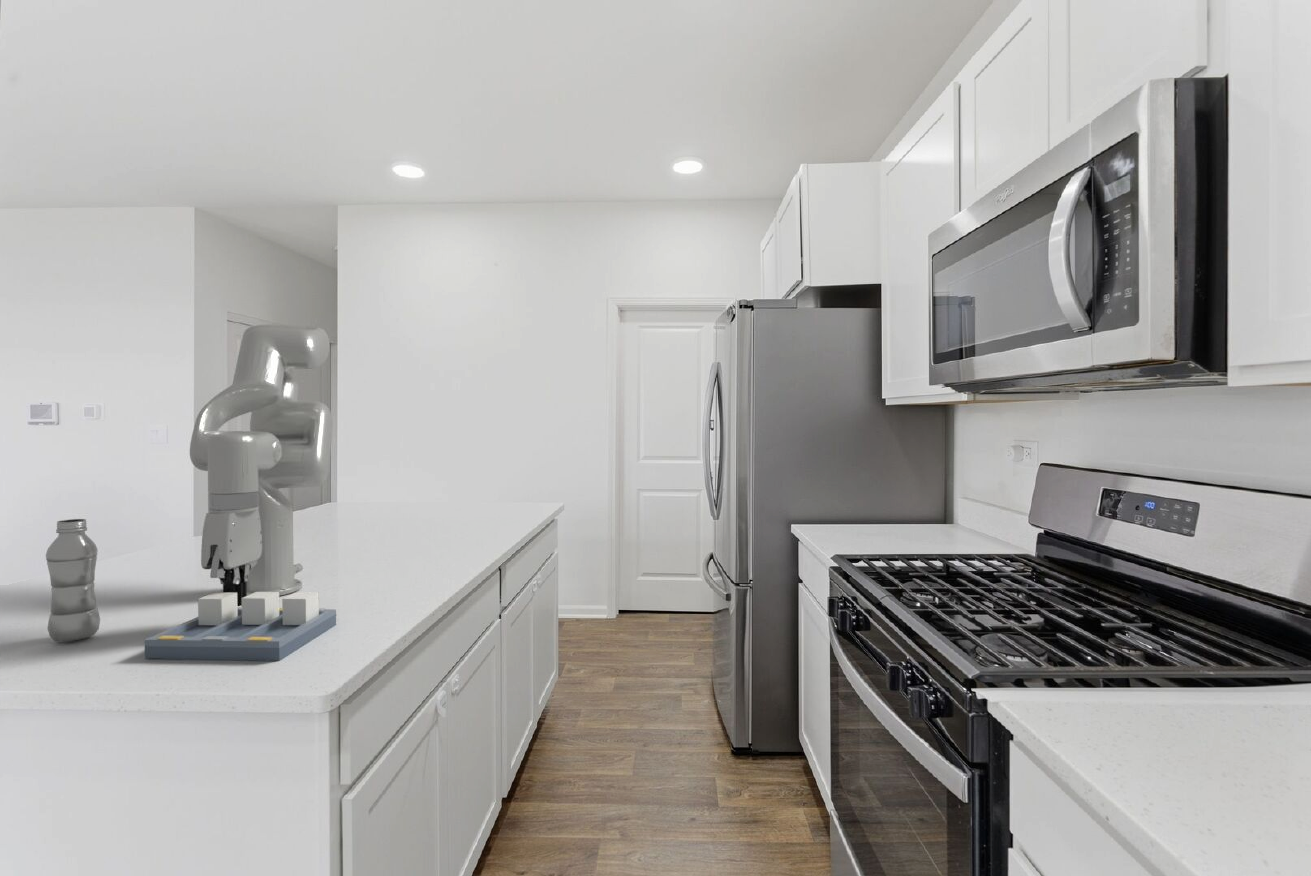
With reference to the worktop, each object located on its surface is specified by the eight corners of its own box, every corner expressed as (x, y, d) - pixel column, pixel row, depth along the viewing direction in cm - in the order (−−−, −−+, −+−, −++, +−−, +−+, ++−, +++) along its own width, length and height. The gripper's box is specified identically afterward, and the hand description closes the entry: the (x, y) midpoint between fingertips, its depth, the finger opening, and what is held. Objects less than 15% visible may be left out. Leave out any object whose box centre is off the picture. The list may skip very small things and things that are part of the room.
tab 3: (296, 617, 113) (295, 592, 112) (318, 617, 113) (318, 592, 112) (282, 624, 109) (282, 598, 108) (306, 625, 109) (305, 598, 108)
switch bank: (221, 623, 116) (220, 605, 116) (336, 624, 116) (335, 607, 116) (144, 658, 99) (144, 638, 99) (279, 660, 99) (279, 640, 99)
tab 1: (215, 617, 112) (214, 592, 112) (237, 617, 112) (237, 592, 112) (198, 625, 108) (198, 598, 108) (221, 625, 108) (221, 599, 108)
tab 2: (256, 617, 113) (256, 591, 113) (279, 617, 113) (279, 592, 113) (241, 624, 109) (241, 598, 109) (265, 624, 109) (264, 598, 109)
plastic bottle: (69, 647, 103) (66, 524, 103) (36, 644, 105) (33, 522, 104) (110, 634, 110) (108, 518, 109) (79, 631, 111) (76, 516, 110)
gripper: (240, 497, 121) (241, 593, 122) (181, 507, 106) (182, 617, 107) (279, 497, 121) (280, 593, 122) (226, 508, 106) (227, 617, 107)
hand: (235, 604), depth 114 cm, fingers closed
